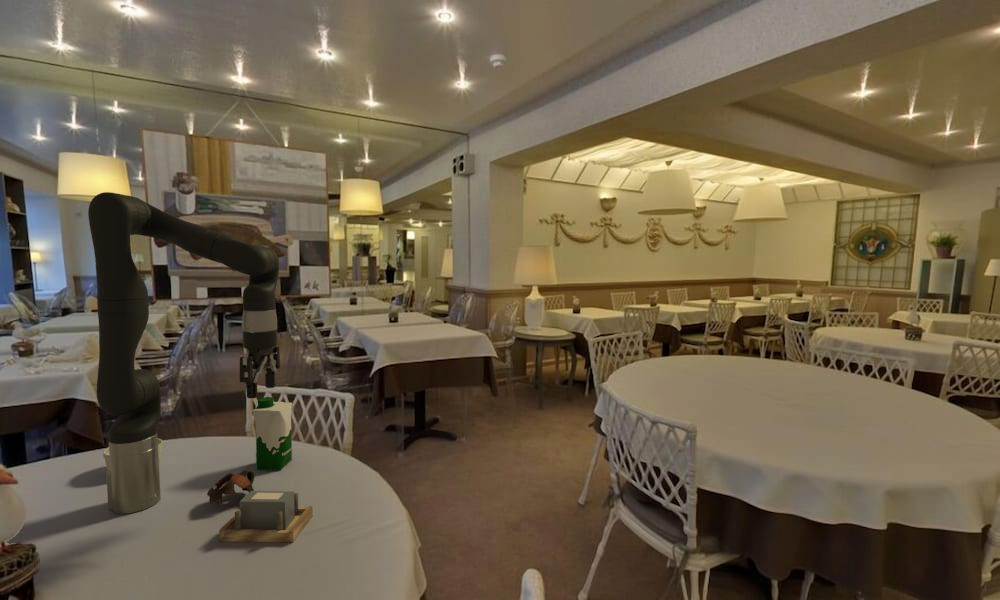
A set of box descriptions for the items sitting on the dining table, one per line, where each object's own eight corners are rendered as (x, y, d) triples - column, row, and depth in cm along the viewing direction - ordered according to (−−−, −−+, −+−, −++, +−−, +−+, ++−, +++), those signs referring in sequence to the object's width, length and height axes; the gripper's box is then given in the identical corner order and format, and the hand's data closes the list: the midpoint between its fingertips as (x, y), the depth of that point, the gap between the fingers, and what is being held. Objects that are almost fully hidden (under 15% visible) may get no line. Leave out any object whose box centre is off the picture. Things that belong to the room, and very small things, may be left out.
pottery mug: (246, 514, 108) (224, 489, 106) (216, 526, 110) (194, 502, 107) (271, 478, 119) (253, 455, 117) (244, 490, 121) (225, 468, 119)
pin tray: (219, 541, 97) (218, 514, 96) (245, 514, 107) (244, 490, 106) (293, 542, 97) (292, 516, 96) (312, 516, 107) (312, 492, 106)
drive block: (240, 529, 100) (239, 501, 99) (251, 517, 104) (250, 490, 103) (285, 529, 100) (284, 501, 99) (294, 518, 104) (294, 491, 104)
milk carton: (267, 458, 137) (265, 394, 135) (296, 458, 137) (295, 395, 135) (251, 471, 128) (248, 403, 127) (282, 472, 128) (280, 404, 126)
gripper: (260, 323, 117) (261, 384, 118) (227, 332, 103) (229, 401, 104) (289, 324, 117) (290, 385, 118) (259, 333, 103) (261, 402, 104)
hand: (261, 392), depth 111 cm, fingers open, 8 cm apart
